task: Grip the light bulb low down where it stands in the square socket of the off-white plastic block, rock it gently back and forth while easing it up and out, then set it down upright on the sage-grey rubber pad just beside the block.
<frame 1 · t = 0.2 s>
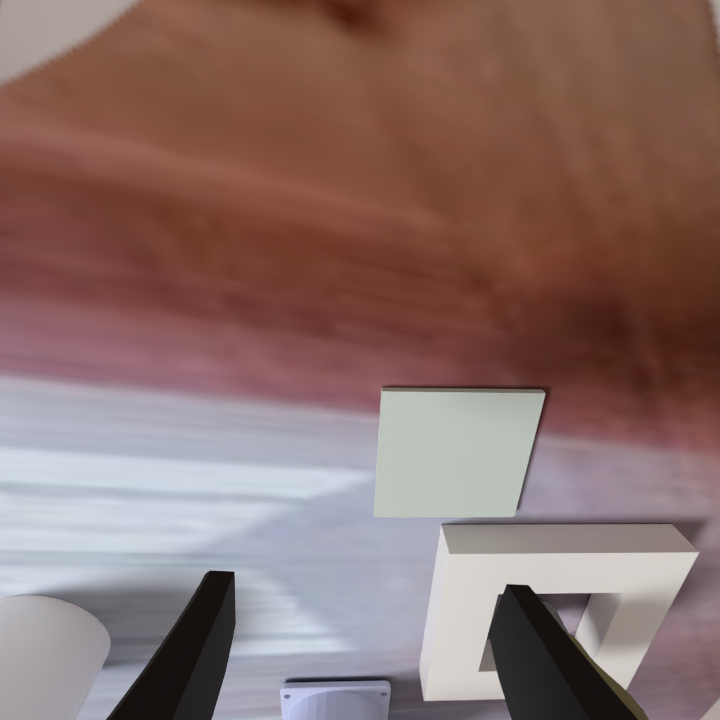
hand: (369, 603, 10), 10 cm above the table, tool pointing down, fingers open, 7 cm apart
cup: (18, 635, 26), on the table
socket block: (533, 603, 26), on the table
light bulb: (531, 599, 26), resting in socket block
rubber pad: (452, 454, 21), on the table
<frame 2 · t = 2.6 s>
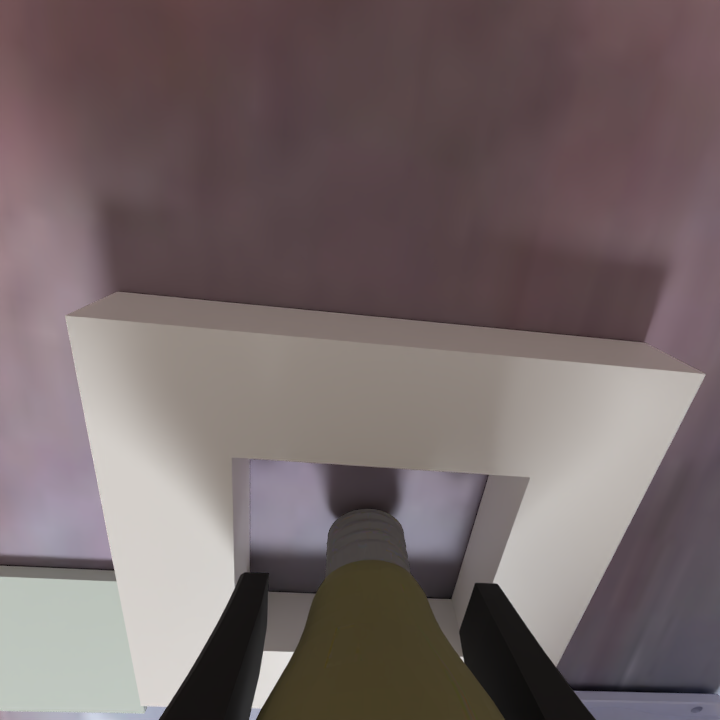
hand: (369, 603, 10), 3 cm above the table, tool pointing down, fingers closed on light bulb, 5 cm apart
socket block: (364, 519, 13), on the table
light bulb: (363, 514, 13), resting in socket block, touching gripper
rubber pad: (29, 640, 15), on the table
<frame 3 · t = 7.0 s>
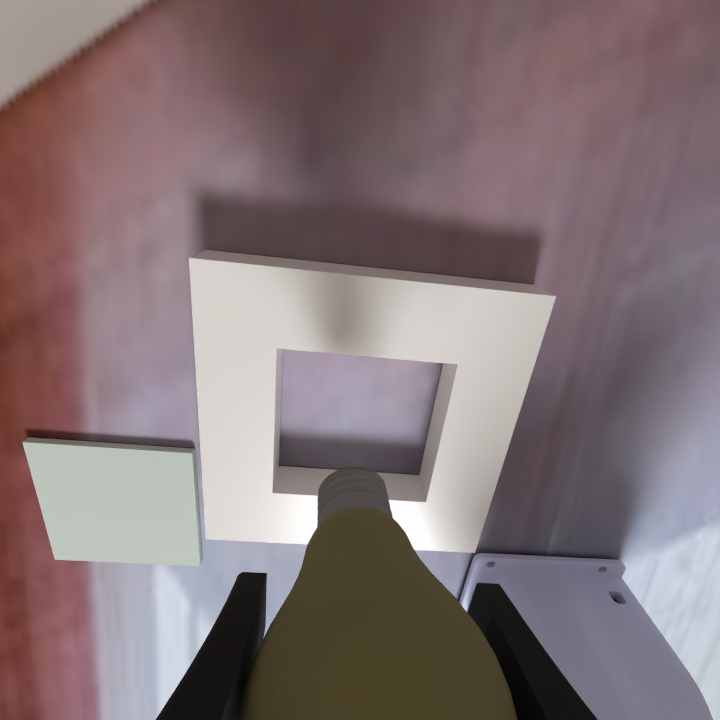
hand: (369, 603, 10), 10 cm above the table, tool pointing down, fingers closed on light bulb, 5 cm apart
socket block: (357, 409, 19), on the table
light bulb: (349, 474, 15), point 5 cm above the table, touching gripper
rubber pad: (123, 504, 21), on the table
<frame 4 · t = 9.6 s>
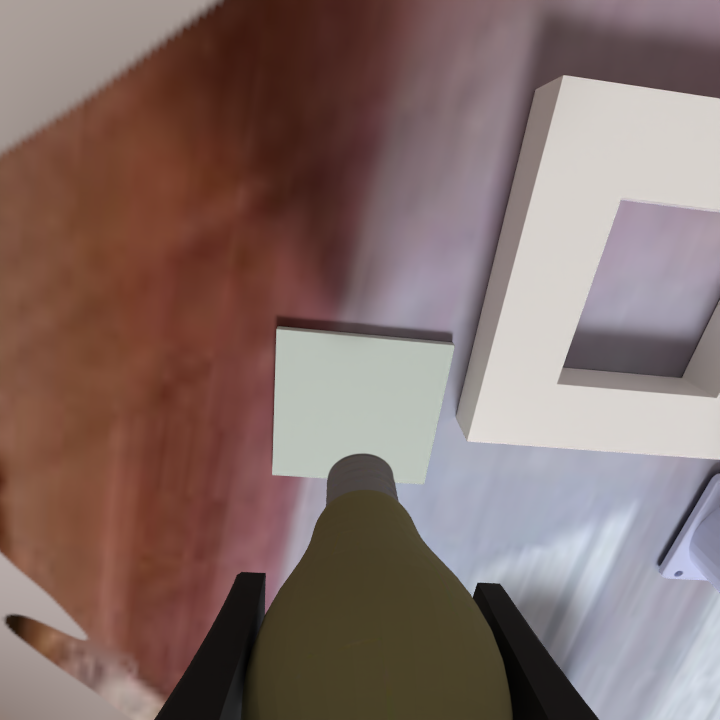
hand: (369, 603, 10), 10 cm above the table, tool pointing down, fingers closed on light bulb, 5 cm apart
socket block: (640, 296, 18), on the table
light bulb: (358, 461, 15), point 5 cm above the table, touching gripper
rubber pad: (357, 410, 19), on the table
when the fingers open (4 cm above the table, at t = 11.7 s): light bulb stays where it is, resting on rubber pad.
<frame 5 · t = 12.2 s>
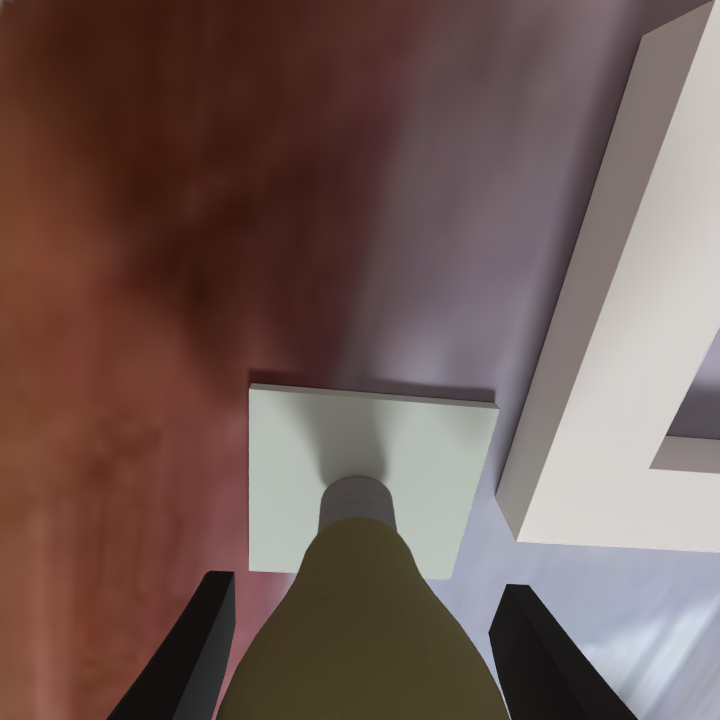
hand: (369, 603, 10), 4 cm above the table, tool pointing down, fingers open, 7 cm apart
light bulb: (355, 483, 14), resting on rubber pad
rubber pad: (362, 489, 14), on the table
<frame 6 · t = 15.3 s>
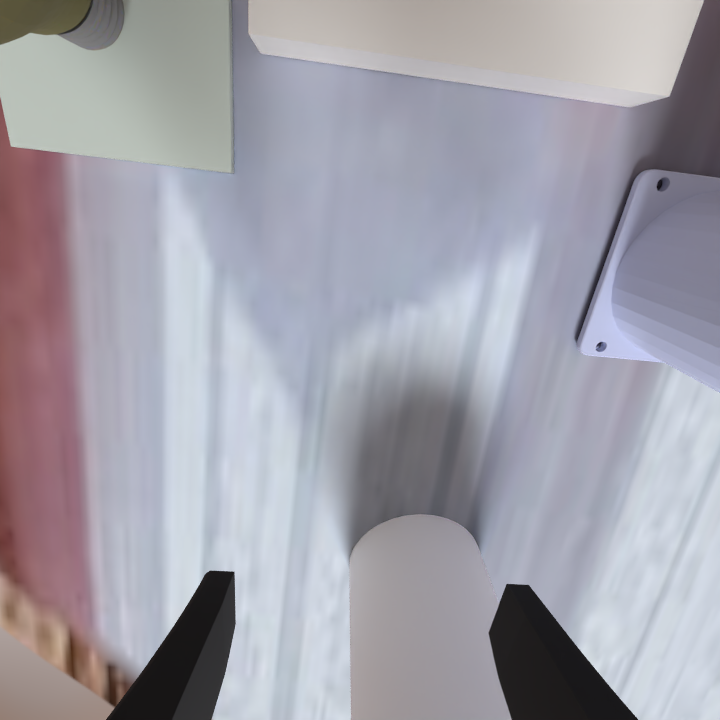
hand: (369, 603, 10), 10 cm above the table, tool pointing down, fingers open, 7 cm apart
cup: (411, 581, 26), on the table
light bulb: (100, 13, 13), resting on rubber pad
rubber pad: (114, 32, 14), on the table
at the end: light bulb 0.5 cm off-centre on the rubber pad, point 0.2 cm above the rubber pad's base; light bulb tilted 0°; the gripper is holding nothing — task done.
